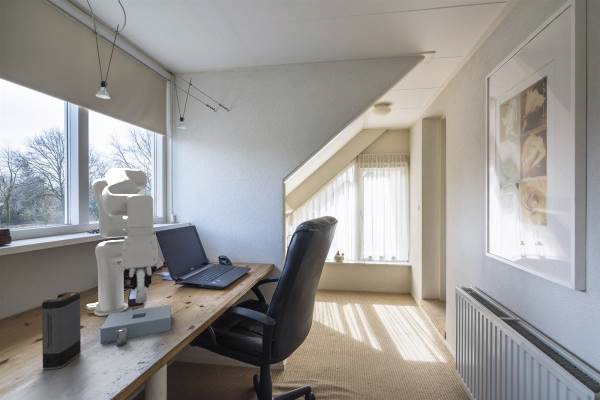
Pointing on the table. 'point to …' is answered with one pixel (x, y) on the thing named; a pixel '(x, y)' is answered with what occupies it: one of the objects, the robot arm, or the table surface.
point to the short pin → (121, 337)
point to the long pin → (141, 284)
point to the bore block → (137, 322)
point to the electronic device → (61, 330)
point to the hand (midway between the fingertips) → (141, 286)
